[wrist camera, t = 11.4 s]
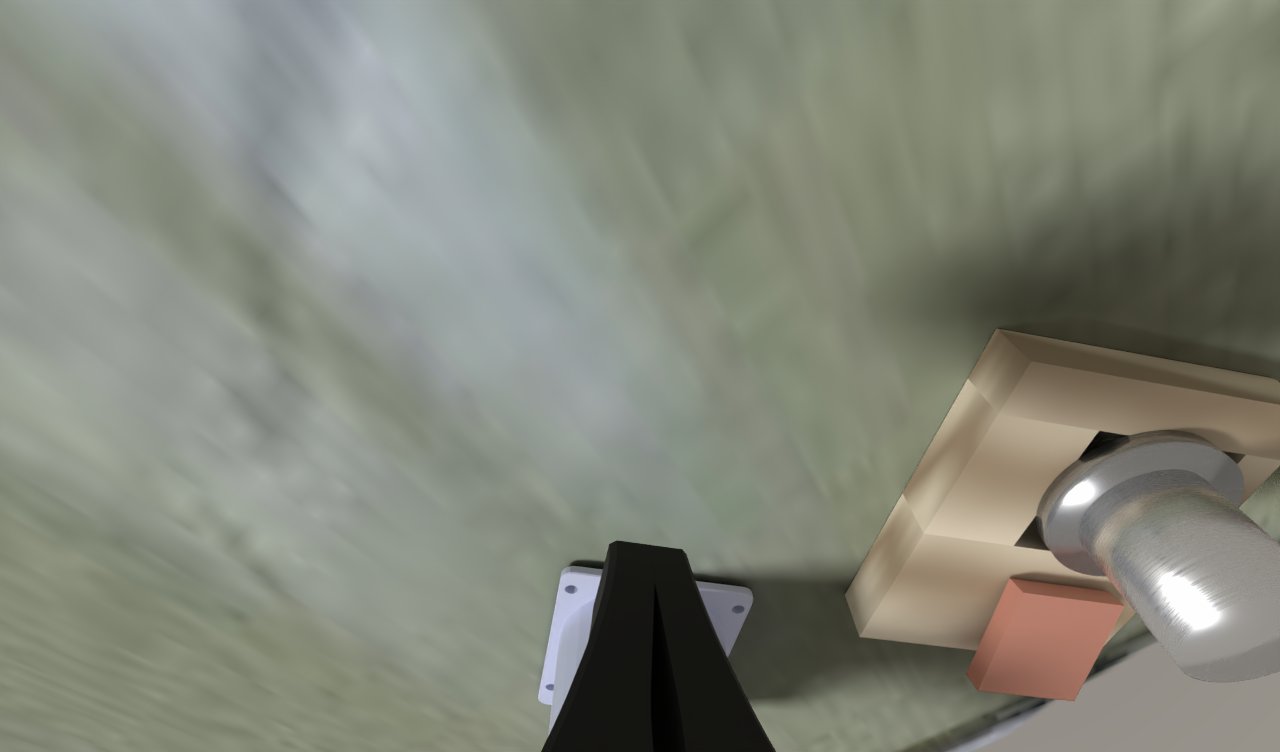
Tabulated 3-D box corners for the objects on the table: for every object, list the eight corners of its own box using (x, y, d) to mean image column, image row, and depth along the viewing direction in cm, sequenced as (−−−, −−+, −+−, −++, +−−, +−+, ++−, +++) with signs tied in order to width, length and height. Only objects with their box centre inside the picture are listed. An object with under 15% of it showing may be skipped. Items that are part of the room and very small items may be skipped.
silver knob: (1118, 530, 24) (1276, 709, 18) (980, 511, 23) (1097, 689, 17) (1219, 410, 21) (1449, 578, 15) (1063, 385, 20) (1240, 550, 14)
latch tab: (1059, 684, 24) (1074, 701, 24) (966, 674, 24) (977, 690, 23) (1107, 590, 23) (1124, 605, 22) (1009, 578, 23) (1023, 592, 22)
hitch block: (1058, 621, 27) (1086, 663, 26) (844, 594, 26) (859, 636, 25) (1272, 378, 20) (1330, 413, 19) (996, 328, 19) (1031, 361, 18)
